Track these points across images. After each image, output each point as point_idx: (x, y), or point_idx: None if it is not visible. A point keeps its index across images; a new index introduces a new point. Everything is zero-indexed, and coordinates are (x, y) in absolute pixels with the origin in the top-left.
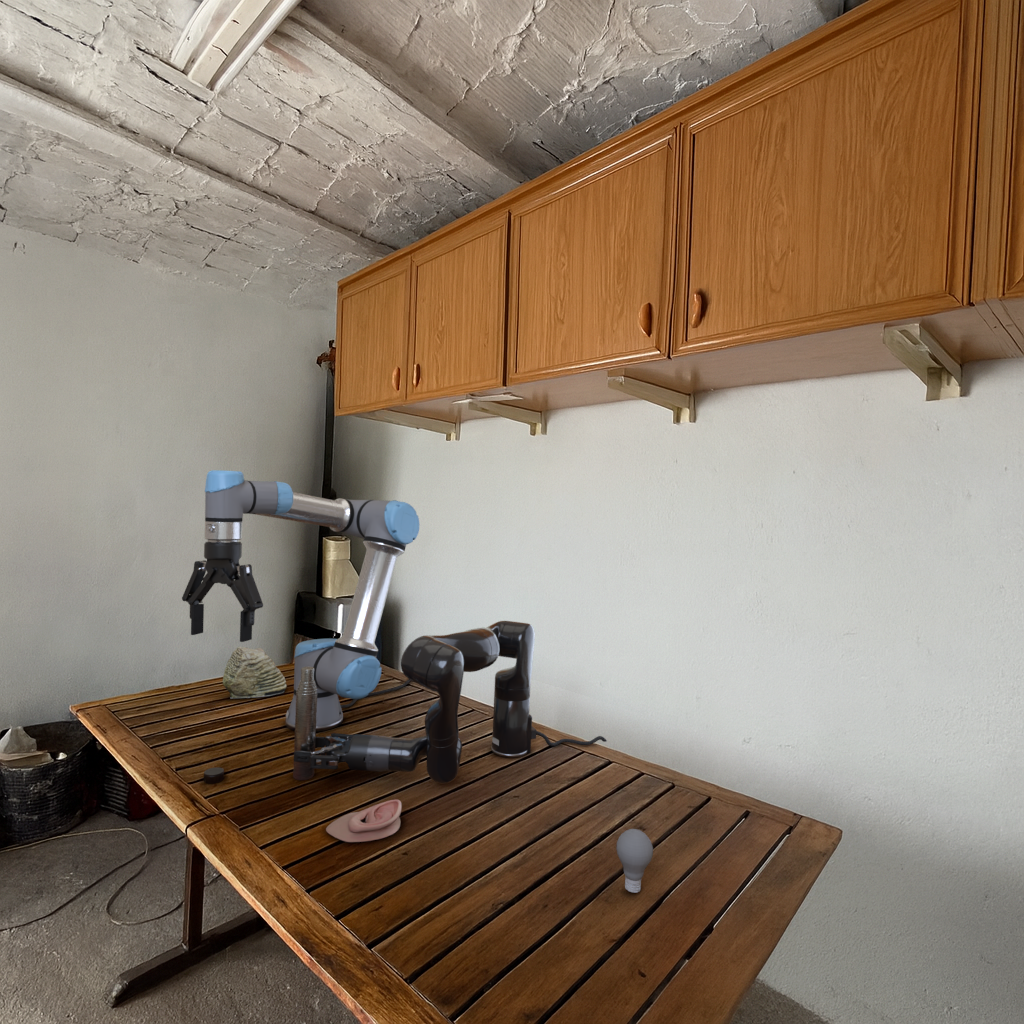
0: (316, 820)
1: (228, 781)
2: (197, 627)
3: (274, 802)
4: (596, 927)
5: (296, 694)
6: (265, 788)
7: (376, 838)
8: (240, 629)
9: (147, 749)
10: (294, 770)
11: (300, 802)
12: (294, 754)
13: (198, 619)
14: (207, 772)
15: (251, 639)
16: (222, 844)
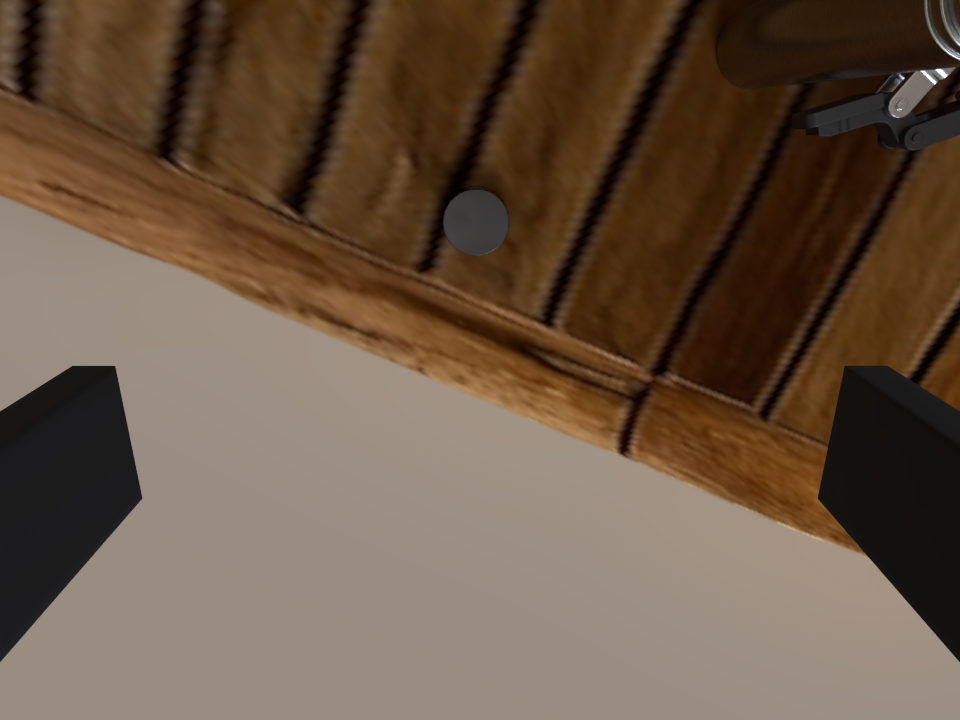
0: (945, 298)
1: (529, 205)
2: (85, 490)
3: (766, 261)
4: None
5: (928, 46)
6: (681, 194)
7: None
8: (905, 592)
9: (32, 116)
10: (745, 83)
11: (846, 226)
12: (806, 128)
13: (15, 547)
14: (463, 241)
15: (888, 371)
16: (764, 484)
